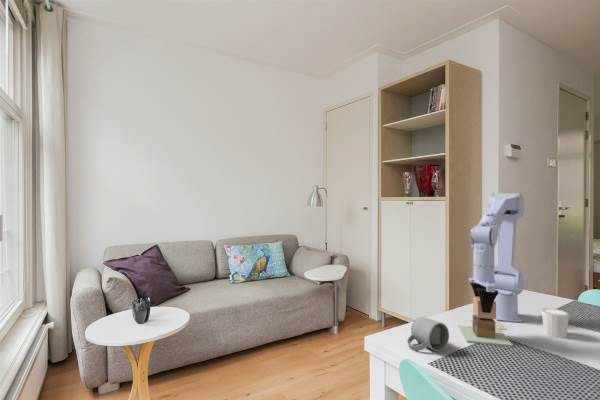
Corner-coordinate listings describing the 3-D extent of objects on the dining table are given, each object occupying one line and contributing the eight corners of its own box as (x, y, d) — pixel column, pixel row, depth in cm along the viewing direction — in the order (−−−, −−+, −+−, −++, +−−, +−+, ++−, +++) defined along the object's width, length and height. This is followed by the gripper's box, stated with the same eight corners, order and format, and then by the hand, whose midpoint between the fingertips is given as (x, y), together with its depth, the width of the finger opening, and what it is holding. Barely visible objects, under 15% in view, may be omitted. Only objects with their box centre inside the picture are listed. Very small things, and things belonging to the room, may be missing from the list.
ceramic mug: (427, 337, 101) (427, 312, 101) (450, 348, 94) (449, 321, 94) (400, 344, 97) (400, 318, 97) (421, 356, 89) (421, 328, 89)
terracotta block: (473, 312, 105) (473, 296, 105) (490, 313, 104) (490, 297, 104) (477, 317, 100) (477, 301, 100) (496, 319, 99) (496, 302, 99)
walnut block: (472, 330, 105) (472, 314, 105) (490, 331, 104) (490, 316, 104) (476, 336, 100) (476, 320, 100) (495, 338, 99) (495, 321, 99)
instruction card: (471, 320, 115) (471, 319, 115) (500, 323, 113) (500, 322, 113) (475, 327, 109) (475, 326, 109) (506, 329, 107) (506, 328, 107)
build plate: (458, 326, 109) (458, 325, 109) (498, 330, 106) (498, 328, 106) (467, 342, 98) (467, 340, 98) (513, 346, 95) (513, 344, 95)
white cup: (558, 339, 99) (558, 316, 99) (536, 331, 106) (536, 309, 106) (575, 337, 101) (575, 314, 101) (552, 328, 108) (552, 307, 108)
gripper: (463, 260, 110) (463, 301, 110) (475, 269, 96) (475, 316, 96) (487, 261, 108) (487, 302, 108) (503, 270, 94) (503, 318, 94)
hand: (483, 309), depth 102 cm, fingers closed on terracotta block, 5 cm apart
